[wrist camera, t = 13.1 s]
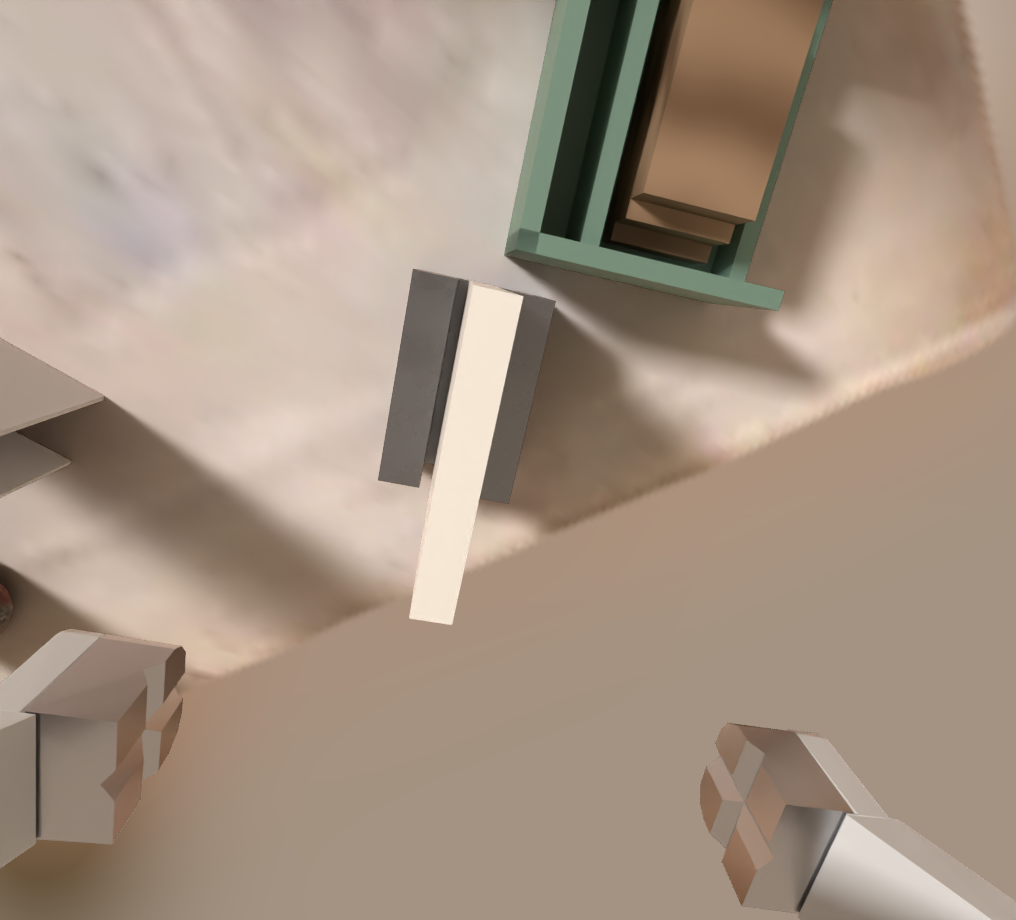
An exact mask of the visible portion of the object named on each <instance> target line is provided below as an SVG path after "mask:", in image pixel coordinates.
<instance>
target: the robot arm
mask: <svg viewBox="0 0 1016 920" xmlns="http://www.w3.org/2000/svg"><path fill="white" fill-rule="evenodd" d="M185 657H186V652H185V650H184V649H183V647H182V646H179V645H172V644H166V643H160V642H154V641H148V640H141V639H135V638H129V637H123V636H117V635H111V634H108V635H106V634H103V633H96V632H89V631H82V630H76V629H68V630H64V631H60V632H59V633H57V634H56V635H55V636H54V637H53V638H52V639H50V640H49V641H48V642H47V643H46V644H45V645H44V646H42V647H41V648H40V649H39V650H38V651H37V652H36V653H34V654H33V655H32V656H31V657H30V658H29V659H28V660H26V661H25V662H24V663H23V664H22V665H21V666H20V667H18V668H17V669H16V670H15V671H14V672H13V673H11V674H10V675H9V676H8V677H7V678H6V679H5V680H3V681H2V682H1V683H0V868H1V867H3V866H4V865H6V864H7V863H8V862H10V861H11V860H13V859H14V858H16V857H17V856H19V855H20V854H22V853H23V852H24V851H26V850H27V849H29V848H30V847H32V846H33V845H34V844H36V839H42V840H57V841H72V842H86V843H100V844H113V843H114V841H115V839H116V838H117V836H118V835H119V833H120V831H121V830H122V828H123V827H124V825H125V824H126V822H127V820H128V818H129V817H130V815H131V814H132V812H133V811H134V809H135V808H136V806H137V804H138V803H139V801H140V800H141V792H142V780H143V779H145V778H147V777H149V776H150V775H152V774H154V773H155V772H157V771H158V770H159V769H160V767H161V765H162V763H163V761H164V760H165V758H166V757H167V755H168V754H169V751H170V749H171V746H172V744H173V741H174V738H175V736H176V734H177V731H178V727H179V722H180V718H181V713H182V702H183V698H182V697H181V695H180V694H179V693H178V691H177V690H176V688H175V686H176V684H177V683H178V681H179V680H180V678H181V677H182V676H183V674H184V673H185ZM715 744H716V747H717V749H718V752H719V755H720V756H719V757H718V758H717V759H715V760H714V761H713V762H711V763H710V764H709V765H708V766H707V767H706V769H705V772H704V775H703V778H702V781H701V787H700V805H701V809H702V814H703V819H704V821H705V823H706V826H707V828H708V831H709V833H710V834H711V835H712V836H713V837H714V838H715V839H716V840H717V841H718V842H720V844H721V845H722V846H723V847H724V848H725V852H724V856H723V859H722V863H723V865H724V867H725V870H726V872H727V874H728V876H729V879H730V881H731V883H732V885H733V888H734V890H735V892H736V894H737V897H738V899H739V901H740V903H741V906H743V907H751V908H759V909H767V910H774V911H781V912H790V913H797V914H799V915H798V918H799V919H800V920H1016V901H1014V900H1013V899H1012V898H1010V897H1009V896H1007V895H1006V894H1004V893H1003V892H1002V891H1000V890H999V889H997V888H996V887H994V886H993V885H991V884H990V883H989V882H987V881H986V880H984V879H983V878H982V877H980V876H979V875H977V874H976V873H974V872H973V871H971V870H970V869H969V868H967V867H966V866H964V865H963V864H961V863H960V862H958V861H957V860H956V859H954V858H953V857H951V856H950V855H949V854H947V853H946V852H944V851H943V850H941V849H940V848H939V847H937V846H936V845H934V844H933V843H931V842H930V841H928V840H927V839H926V838H924V837H923V836H921V835H920V834H918V833H917V832H916V831H914V830H913V829H911V828H910V827H908V826H907V825H906V824H904V823H903V822H901V821H900V820H896V819H889V818H888V816H887V815H886V814H885V812H884V811H883V810H882V809H881V807H880V806H879V805H878V803H877V802H876V801H875V800H874V798H873V797H872V796H871V794H870V793H869V792H868V791H867V790H866V788H865V787H864V786H863V784H862V783H861V782H860V781H859V779H858V778H857V777H856V775H855V774H854V773H853V772H852V770H851V769H850V768H849V767H848V765H847V764H846V763H845V761H844V760H843V759H842V758H841V756H840V755H839V754H838V753H837V751H836V750H835V749H834V748H833V746H832V745H831V744H830V742H829V741H828V740H827V739H826V738H824V737H823V736H821V735H820V734H818V733H814V732H805V731H796V730H786V731H785V730H778V729H771V728H762V727H756V726H748V725H740V724H733V723H727V724H726V725H725V726H724V727H723V728H722V729H721V731H720V732H719V735H718V737H717V740H716V742H715Z"/></svg>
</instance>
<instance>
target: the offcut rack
mask: <svg viewBox="0 0 1016 920" xmlns="http://www.w3.org/2000/svg"><path fill="white" fill-rule="evenodd" d="M832 1H833V0H824V2H823V5H822V8H821V11H820V14H819V18H818V21H817V24H816V27H815V30H814V34H813V37H812V40H811V43H810V47H809V50H808V53H807V56H806V59H805V63H804V66H803V69H802V72H801V76H800V79H799V82H798V85H797V88H796V92H795V95H794V98H793V101H792V105H791V108H790V111H789V114H788V117H787V121H786V124H785V127H784V130H783V133H782V137H781V140H780V143H779V146H778V150H777V153H776V156H775V159H774V162H773V166H772V169H771V172H770V175H769V179H768V182H767V185H766V188H765V191H764V195H763V198H762V201H761V204H760V207H759V211H758V214H757V217H756V220H755V221H753V222H747V223H742V224H737V225H735V227H734V230H733V233H732V237H731V240H730V243H729V244H723V245H715V246H712V249H711V252H710V255H709V259H708V262H707V263H702V264H691V263H686V262H682V261H678V260H674V259H670V258H666V257H662V256H657V255H653V254H649V253H645V252H641V251H637V250H633V249H628V248H624V247H620V246H616V245H612V244H608V243H604V242H602V239H603V235H604V231H605V227H606V223H607V219H608V215H609V211H610V207H611V203H612V199H613V195H614V191H615V187H616V182H617V178H618V174H619V170H620V166H621V162H622V158H623V154H624V150H625V146H626V142H627V138H628V134H629V130H630V126H631V122H632V118H633V114H634V109H635V105H636V101H637V97H638V93H639V89H640V85H641V81H642V77H643V73H644V69H645V65H646V61H647V57H648V53H649V49H650V45H651V41H652V36H653V32H654V28H655V24H656V20H657V16H658V12H659V8H660V4H661V0H556V4H555V9H554V14H553V19H552V24H551V29H550V34H549V38H548V43H547V48H546V53H545V58H544V63H543V68H542V73H541V77H540V82H539V87H538V92H537V97H536V102H535V107H534V112H533V116H532V121H531V126H530V131H529V136H528V141H527V146H526V151H525V155H524V160H523V165H522V170H521V175H520V180H519V185H518V190H517V195H516V199H515V204H514V209H513V214H512V219H511V224H510V229H509V234H508V238H507V243H506V248H505V253H504V255H506V256H511V257H515V258H519V259H524V260H528V261H532V262H536V263H541V264H545V265H549V266H554V267H558V268H562V269H566V270H571V271H575V272H579V273H584V274H588V275H592V276H596V277H601V278H605V279H609V280H614V281H618V282H622V283H626V284H631V285H635V286H639V287H644V288H648V289H652V290H656V291H661V292H665V293H669V294H674V295H678V296H682V297H686V298H691V299H695V300H699V301H704V302H708V303H713V304H722V305H731V306H740V307H749V308H757V309H766V310H775V311H778V310H779V307H780V304H781V301H782V298H783V295H784V292H785V291H781V290H777V289H773V288H769V287H765V286H761V285H756V284H752V283H748V282H745V278H746V275H747V272H748V269H749V266H750V262H751V259H752V256H753V253H754V250H755V247H756V243H757V240H758V237H759V234H760V231H761V227H762V224H763V221H764V218H765V215H766V212H767V208H768V205H769V202H770V199H771V196H772V192H773V189H774V186H775V183H776V180H777V177H778V173H779V170H780V167H781V164H782V161H783V157H784V154H785V151H786V148H787V145H788V142H789V138H790V135H791V132H792V129H793V126H794V122H795V119H796V116H797V113H798V110H799V107H800V103H801V100H802V97H803V94H804V91H805V87H806V84H807V81H808V78H809V75H810V71H811V68H812V65H813V62H814V59H815V56H816V52H817V49H818V46H819V43H820V40H821V36H822V33H823V30H824V27H825V24H826V21H827V17H828V14H829V11H830V8H831V5H832Z"/></svg>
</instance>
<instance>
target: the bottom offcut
mask: <svg viewBox="0 0 1016 920" xmlns="http://www.w3.org/2000/svg"><path fill="white" fill-rule="evenodd" d="M670 1H671V0H661V4H660V8H659V12H658V16H657V20H656V24H655V28H654V32H653V36H652V41H651V45H650V49H649V53H648V57H647V61H646V65H645V69H644V73H643V77H642V81H641V85H640V89H639V93H638V97H637V101H636V105H635V109H634V114H633V118H632V122H631V126H630V130H629V134H628V138H627V142H626V146H625V150H624V154H623V158H622V162H621V166H620V170H619V174H618V178H617V182H616V187H615V191H614V195H613V199H612V203H611V207H610V211H609V215H608V219H607V223H606V227H605V231H604V235H603V239H602V242H604V243H608V244H612V245H616V246H620V247H624V248H628V249H633V250H637V251H641V252H645V253H649V254H653V255H657V256H662V257H666V258H670V259H674V260H678V261H682V262H686V263H691V264H702V263H707V262H708V259H709V255H710V252H711V249H712V246H711V245H707V244H703V243H699V242H695V241H691V240H687V239H683V238H679V237H675V236H670V235H666V234H662V233H658V232H654V231H650V230H646V229H642V228H638V227H634V226H630V225H626V224H622V223H618V222H615V221H616V217H617V213H618V209H619V205H620V201H621V197H622V193H623V189H624V185H625V181H626V177H627V173H628V169H629V165H630V161H631V157H632V153H633V149H634V145H635V141H636V137H637V133H638V129H639V125H640V121H641V117H642V113H643V109H644V105H645V101H646V97H647V93H648V89H649V85H650V81H651V77H652V73H653V69H654V65H655V61H656V57H657V53H658V49H659V45H660V41H661V37H662V33H663V29H664V25H665V21H666V17H667V13H668V9H669V5H670Z"/></svg>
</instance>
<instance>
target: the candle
mask: <svg viewBox="0 0 1016 920" xmlns="http://www.w3.org/2000/svg"><path fill="white" fill-rule="evenodd" d="M12 610H13V603H12V601H11V598H10V595H9V593H8V591H7V589H5V588H4V587H3V586H2V585H1V584H0V635H1V634H2V632H3V631H4V630H5V629H6V627H7V624H8V622H9V620H10V619H11V615H12Z"/></svg>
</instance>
